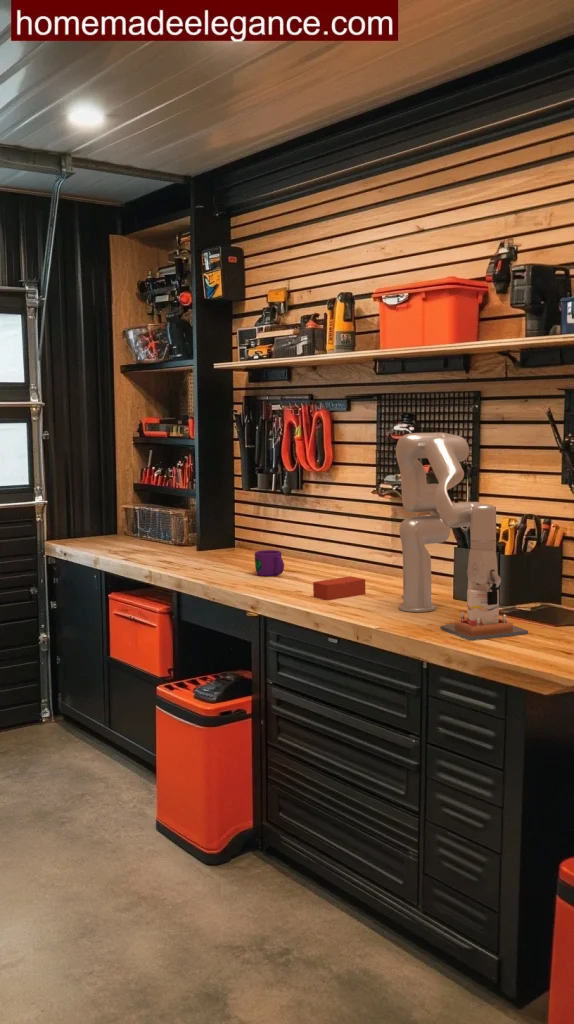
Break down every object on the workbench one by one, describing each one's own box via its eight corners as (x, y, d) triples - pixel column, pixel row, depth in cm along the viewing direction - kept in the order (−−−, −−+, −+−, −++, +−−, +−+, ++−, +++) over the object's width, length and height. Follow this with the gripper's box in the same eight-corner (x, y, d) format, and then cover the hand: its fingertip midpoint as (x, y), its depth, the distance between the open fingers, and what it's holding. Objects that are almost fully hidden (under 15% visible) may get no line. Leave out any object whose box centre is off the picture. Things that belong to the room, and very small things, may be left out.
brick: (350, 591, 346) (350, 576, 346) (366, 595, 339) (365, 579, 338) (313, 597, 336) (312, 581, 336) (327, 601, 329) (327, 584, 328)
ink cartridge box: (471, 630, 272) (471, 582, 270) (466, 626, 277) (466, 579, 275) (499, 629, 272) (499, 580, 271) (494, 625, 277) (494, 578, 276)
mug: (250, 574, 390) (249, 551, 389) (272, 571, 396) (271, 549, 395) (272, 579, 376) (271, 556, 375) (294, 576, 382) (294, 553, 381)
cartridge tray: (440, 628, 279) (440, 611, 279) (496, 622, 286) (496, 605, 285) (469, 640, 263) (469, 622, 263) (528, 633, 270) (528, 615, 269)
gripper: (457, 543, 279) (457, 598, 280) (488, 549, 263) (488, 608, 264) (478, 541, 281) (478, 595, 283) (510, 548, 265) (510, 605, 267)
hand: (483, 601), depth 274 cm, fingers open, 9 cm apart
